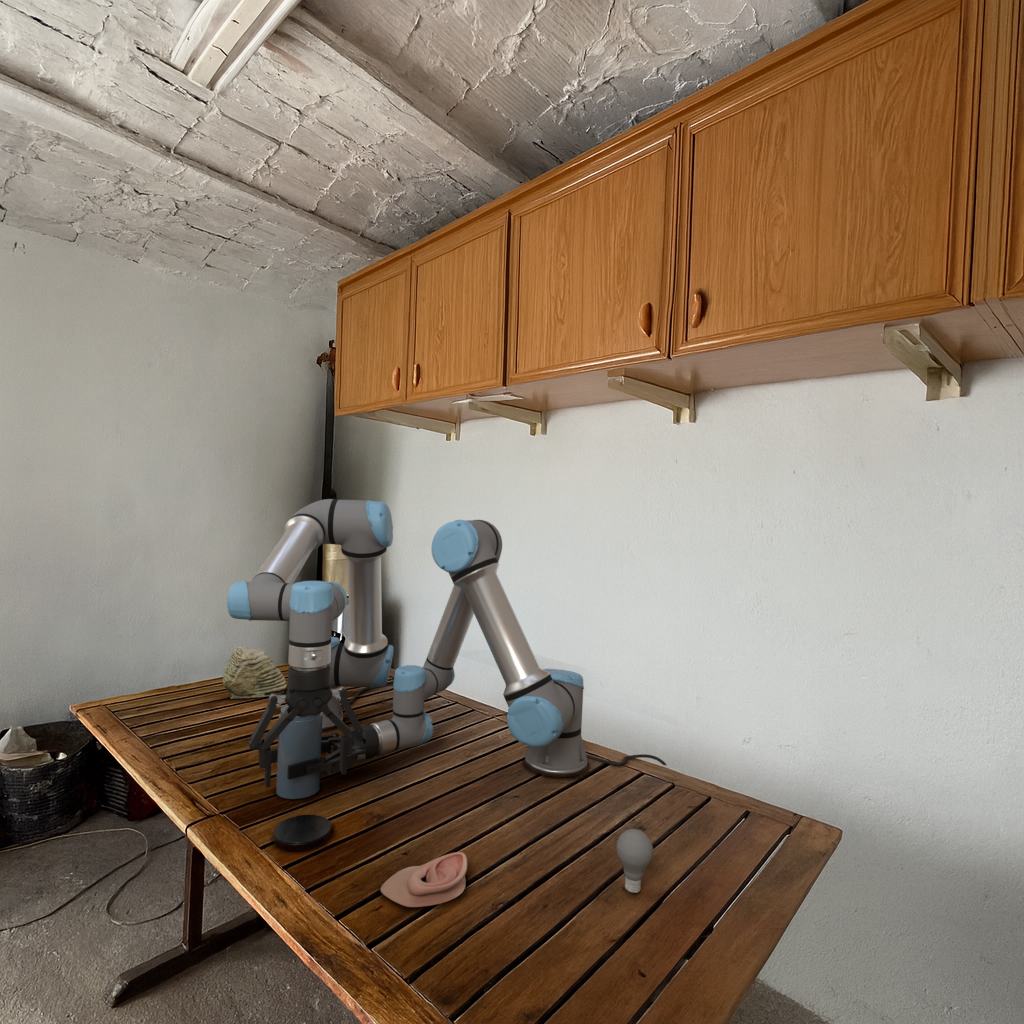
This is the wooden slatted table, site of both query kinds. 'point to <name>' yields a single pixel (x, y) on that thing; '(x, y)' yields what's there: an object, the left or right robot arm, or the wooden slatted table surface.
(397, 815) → the wooden slatted table surface
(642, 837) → the light bulb
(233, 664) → the fossil
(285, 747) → the jar
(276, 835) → the lid
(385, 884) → the anatomical model
